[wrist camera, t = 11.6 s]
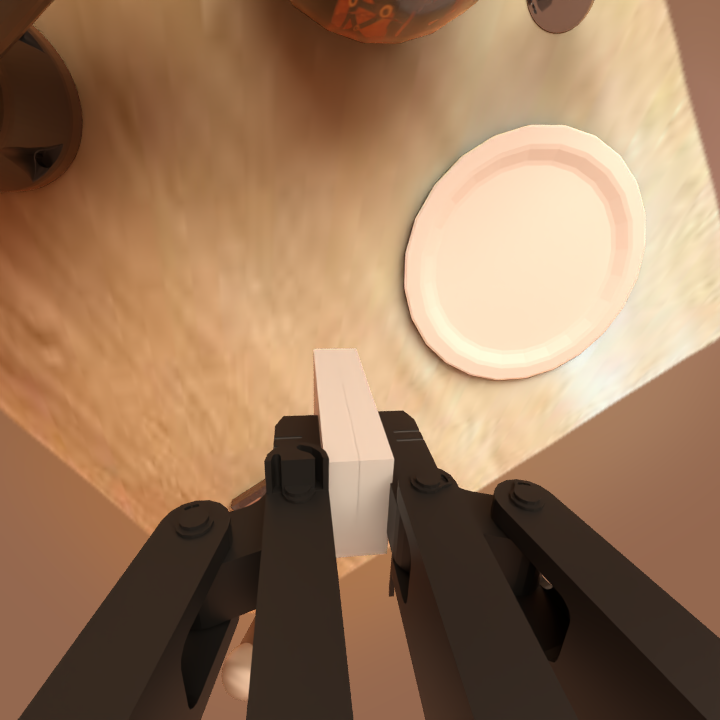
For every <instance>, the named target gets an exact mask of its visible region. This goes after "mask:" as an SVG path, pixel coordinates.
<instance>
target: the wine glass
mask: <svg viewBox="0 0 720 720" xmlns="http://www.w3.org/2000/svg"><path fill="white" fill-rule="evenodd" d="M593 3H594V0H527V4H528V8H529V11H530V14H531V16H532V18H533V19H534V21H535V22H536V23H537V25H538V26H540V27H541V28H542V29H544V30H546V31H548V32H552V33H562V32H566V31H569V30H571V29H573V28H574V27H576V26H577V25H578V24H579V23H580V22H581V21H582V20H583V19H584V18H585V17H586V15H587V14H588V12H589V11H590V9H591V7H592V5H593Z"/></svg>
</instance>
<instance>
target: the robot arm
mask: <svg viewBox="0 0 720 720" xmlns="http://www.w3.org/2000/svg"><path fill="white" fill-rule="evenodd" d="M53 1H54V0H0V192H19V191H28V190H33V189H37V188H40V187H43V186H45V185H47V184H49V183H51V182H53V181H54V180H56V179H57V178H58V177H59V176H61V175H62V174H63V173H64V172H65V171H66V170H67V168H68V167H69V166H70V164H71V163H72V161H73V159H74V158H75V156H76V153H77V151H78V148H79V145H80V141H81V135H82V111H81V105H80V100H79V96H78V93H77V90H76V87H75V84H74V82H73V79H72V77H71V75H70V73H69V71H68V69H67V67H66V65H65V64H64V62H63V60H62V59H61V57H60V56H59V54H58V53H57V52H56V50H55V49H54V47H53V46H52V45H51V44H50V43H49V41H48V40H47V39H46V38H45V37H44V36H43V35H42V34H41V33H40V32H39V31H38V30H37V29H36V28H35V27H34V26H32V24H33V23H34V22H35V21H36V20H37V19H38V17H39V16H40V15H41V14H42V13H43V12H44V11H45V10H46V8H47V7H48V6H49V5H50V4H51V3H52V2H53ZM313 351H314V415H306V416H283V417H282V419H281V420H280V421H279V422H278V423H277V425H276V426H275V435H274V449H273V450H272V451H271V452H270V453H268V454H267V457H266V459H265V461H264V462H265V479H266V494H265V495H264V496H263V497H262V498H260V499H259V500H258V501H256V502H255V503H253V504H251V505H249V506H246V507H244V508H241V509H238V510H235V511H231V512H228V509H227V508H226V507H224V506H223V505H222V504H220V503H217V502H214V501H210V500H205V501H194V502H190V503H187V504H183V505H181V506H180V507H178V508H176V509H174V510H172V511H171V512H170V513H169V514H168V515H167V516H166V517H165V518H164V519H163V520H162V521H161V522H160V524H159V525H158V526H157V528H156V529H155V531H154V532H153V533H152V535H151V536H150V538H149V539H148V540H147V542H146V543H145V544H144V546H143V547H142V549H141V550H140V551H139V553H138V554H137V556H136V557H135V558H134V560H133V561H132V563H131V564H130V565H129V567H128V568H127V569H126V571H125V572H124V574H123V575H122V577H121V578H120V579H119V581H118V582H117V583H116V585H115V586H114V588H113V589H112V590H111V592H110V593H109V594H108V596H107V597H106V599H105V600H104V601H103V603H102V604H101V606H100V607H99V608H98V610H97V611H96V612H95V614H94V615H93V616H92V618H91V619H90V621H89V622H88V623H87V625H86V626H85V628H84V629H83V630H82V632H81V633H80V634H79V636H78V637H77V639H76V640H75V642H74V643H73V644H72V646H71V647H70V648H69V650H68V651H67V653H66V654H65V655H64V657H63V658H62V659H61V661H60V662H59V664H58V665H57V666H56V668H55V669H54V670H53V672H52V673H51V675H50V676H49V677H48V679H47V680H46V682H45V683H44V684H43V686H42V687H41V689H40V690H39V691H38V693H37V694H36V695H35V697H34V698H33V700H32V701H31V702H30V704H29V705H28V706H27V708H26V709H25V711H24V712H23V713H22V715H21V716H20V718H19V719H18V720H201V718H202V715H203V712H204V710H205V707H206V705H207V702H208V699H209V697H210V694H211V692H212V689H213V686H214V684H215V681H216V678H217V676H218V673H219V671H220V668H221V666H222V663H223V660H224V658H225V655H226V653H227V650H228V647H229V645H230V642H231V640H232V637H233V634H234V632H235V629H236V626H237V624H238V621H239V616H240V615H242V614H245V613H247V612H250V611H252V610H255V609H256V616H255V627H254V638H253V649H252V660H251V671H250V683H249V694H248V705H247V716H246V720H353V711H352V703H351V693H350V684H349V674H348V665H347V656H346V647H345V637H344V627H343V618H342V609H341V600H340V590H339V580H338V571H337V562H336V558H339V557H351V556H364V555H376V554H386V553H387V544H388V539H389V543H390V547H391V551H392V558H391V571H390V582H389V596H394V587H395V592H396V596H397V600H398V605H399V609H400V613H401V617H402V622H403V626H404V630H405V634H406V639H407V643H408V647H409V651H410V656H411V660H412V664H413V669H414V673H415V677H416V681H417V685H418V690H419V694H420V698H421V703H422V707H423V711H424V715H425V720H720V638H719V637H717V636H716V635H715V634H714V633H713V632H712V631H710V630H709V629H708V628H707V627H706V626H705V625H703V624H702V623H701V622H700V621H699V620H698V619H697V618H695V617H694V616H693V615H692V614H691V613H689V612H688V611H687V610H686V609H685V608H684V607H683V606H681V605H680V604H679V603H678V602H677V601H676V600H675V599H673V598H672V597H671V596H670V595H669V594H668V593H666V592H665V591H664V590H663V589H662V588H661V587H659V586H658V585H657V584H656V583H655V582H653V581H652V580H651V579H650V578H649V577H648V576H647V575H646V574H644V573H643V572H642V571H641V570H640V569H639V568H637V567H636V566H635V565H634V564H633V563H632V562H630V561H629V560H628V559H627V558H626V557H625V556H623V555H622V554H621V553H620V552H619V551H617V550H616V549H615V548H614V547H613V546H612V545H611V544H610V543H608V542H607V541H606V540H605V539H604V538H603V537H601V536H600V535H599V534H598V533H596V532H595V531H594V530H593V529H592V528H591V527H590V526H589V525H587V524H586V523H585V522H584V521H583V520H581V519H580V518H579V517H578V516H577V515H576V514H575V513H574V512H572V511H571V510H570V509H569V508H567V507H566V506H565V505H564V504H563V503H562V502H560V500H558V499H557V498H556V497H555V496H554V495H553V494H551V493H550V492H549V491H547V490H545V489H544V488H543V487H541V486H539V485H537V484H534V483H532V482H529V481H524V480H517V479H515V480H506V481H504V482H502V483H500V484H498V485H497V487H496V488H495V491H494V495H489V494H483V493H478V492H472V491H468V490H464V489H461V488H459V487H458V485H457V483H456V481H455V480H454V479H453V478H452V476H451V475H450V474H448V473H446V472H445V471H443V470H442V469H439V468H437V466H436V464H435V462H434V460H433V458H432V456H431V453H430V451H429V449H428V447H427V445H426V443H425V441H424V440H423V437H422V435H421V433H420V432H419V428H418V426H417V424H416V422H415V420H414V419H413V418H412V417H411V416H409V415H408V414H407V413H405V412H404V411H380V412H378V411H377V408H376V405H375V402H374V399H373V396H372V393H371V390H370V387H369V384H368V381H367V379H366V376H365V373H364V370H363V367H362V364H361V361H360V358H359V355H358V352H357V349H356V348H331V349H313ZM542 575H543V576H544V577H545V578H546V579H547V580H548V581H549V582H550V584H549V583H548V582H547V581H546V580H545V579H544V578H543V577H542Z"/></svg>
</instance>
